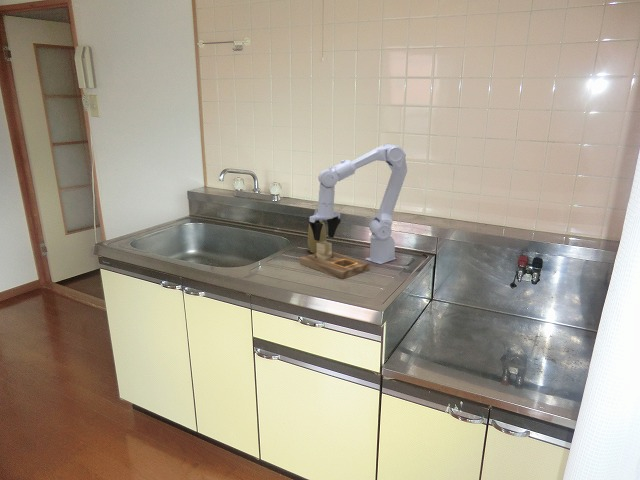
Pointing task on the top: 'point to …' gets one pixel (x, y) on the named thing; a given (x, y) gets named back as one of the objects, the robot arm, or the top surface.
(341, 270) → the wooden peg tray
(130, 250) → the top surface
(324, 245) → the peg
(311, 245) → the squeeze bottle
